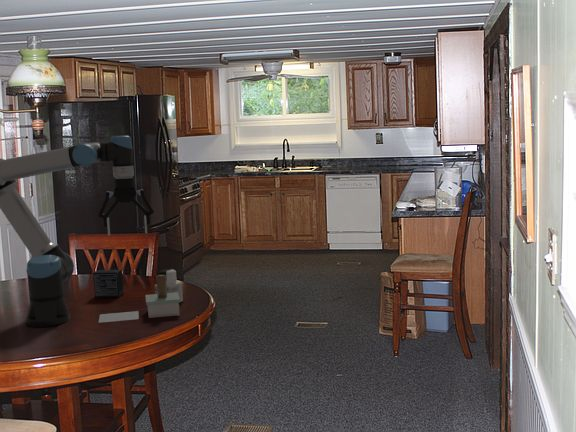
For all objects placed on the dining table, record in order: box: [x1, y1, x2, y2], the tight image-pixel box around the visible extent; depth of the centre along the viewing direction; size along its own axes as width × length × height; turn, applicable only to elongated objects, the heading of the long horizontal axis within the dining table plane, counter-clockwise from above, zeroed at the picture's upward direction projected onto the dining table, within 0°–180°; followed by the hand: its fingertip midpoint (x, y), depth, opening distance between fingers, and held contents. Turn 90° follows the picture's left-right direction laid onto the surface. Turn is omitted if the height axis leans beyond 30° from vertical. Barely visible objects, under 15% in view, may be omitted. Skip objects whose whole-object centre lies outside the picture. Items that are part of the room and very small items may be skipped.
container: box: [154, 268, 184, 303], centre depth 300 cm, size 8×8×13 cm
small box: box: [92, 269, 125, 299], centre depth 317 cm, size 11×6×10 cm, turn 84°
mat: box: [98, 310, 140, 324], centre depth 282 cm, size 14×12×1 cm
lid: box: [144, 274, 181, 306], centre depth 283 cm, size 12×12×9 cm
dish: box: [147, 303, 180, 319], centre depth 284 cm, size 11×11×5 cm
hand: (127, 234), depth 290 cm, fingers open, 13 cm apart
